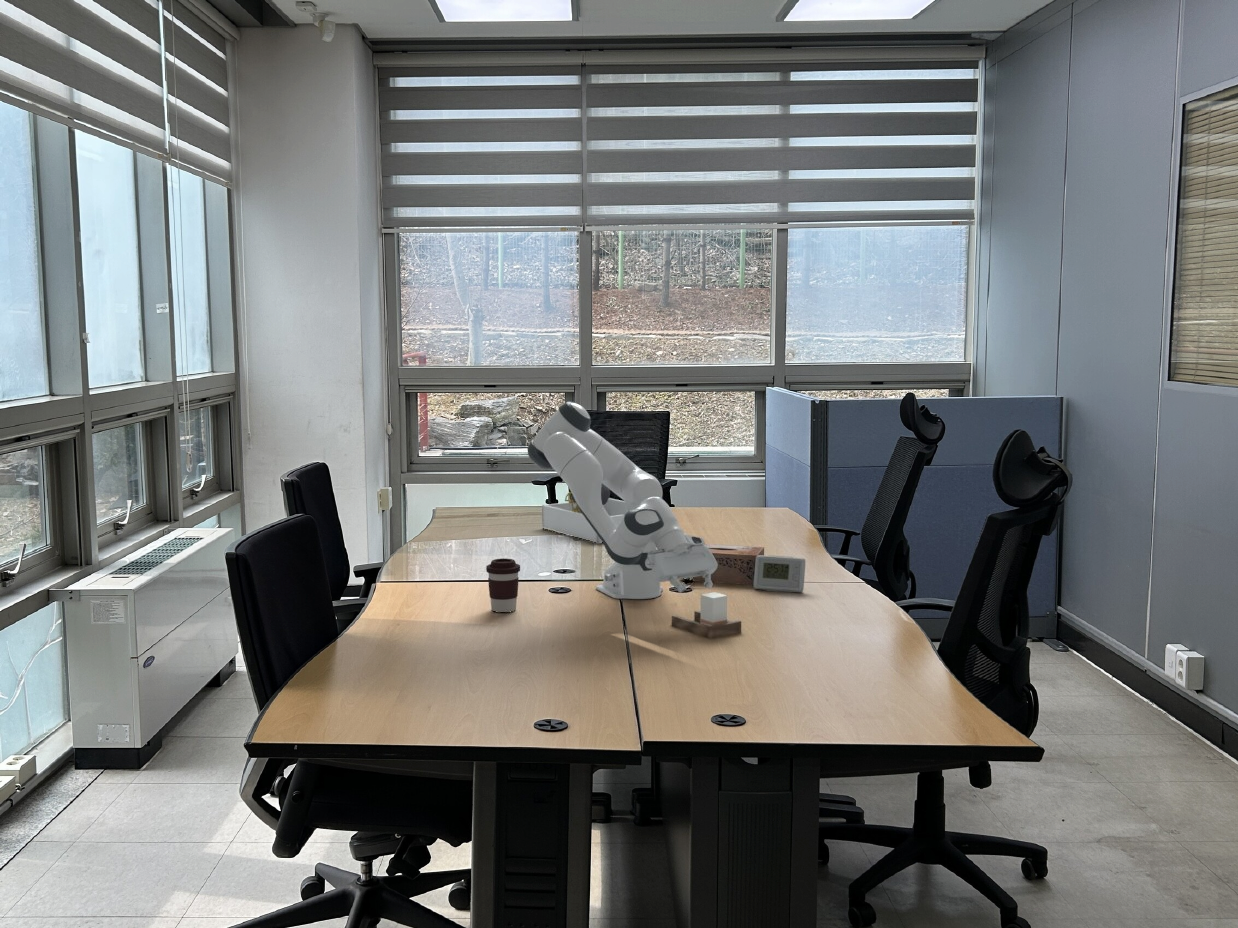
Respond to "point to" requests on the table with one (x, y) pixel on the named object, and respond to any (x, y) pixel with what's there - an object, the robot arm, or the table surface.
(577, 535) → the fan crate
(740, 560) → the tissue box cover
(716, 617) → the block
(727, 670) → the table surface
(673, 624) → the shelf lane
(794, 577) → the digital clock
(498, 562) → the coffee cup
